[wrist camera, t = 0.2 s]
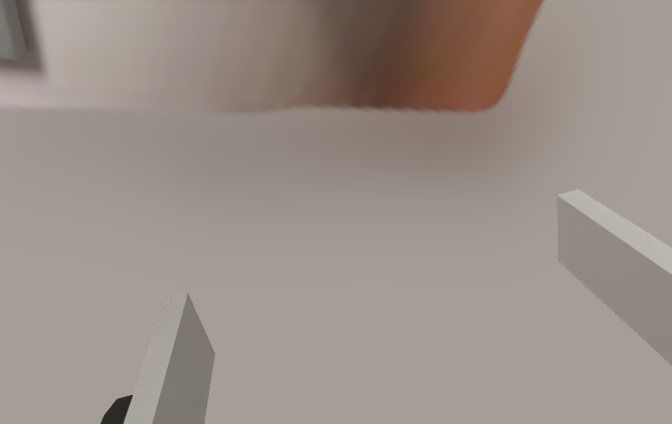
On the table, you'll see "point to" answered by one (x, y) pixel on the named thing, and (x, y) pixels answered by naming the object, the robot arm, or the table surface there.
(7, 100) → the table surface
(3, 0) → the grey box
